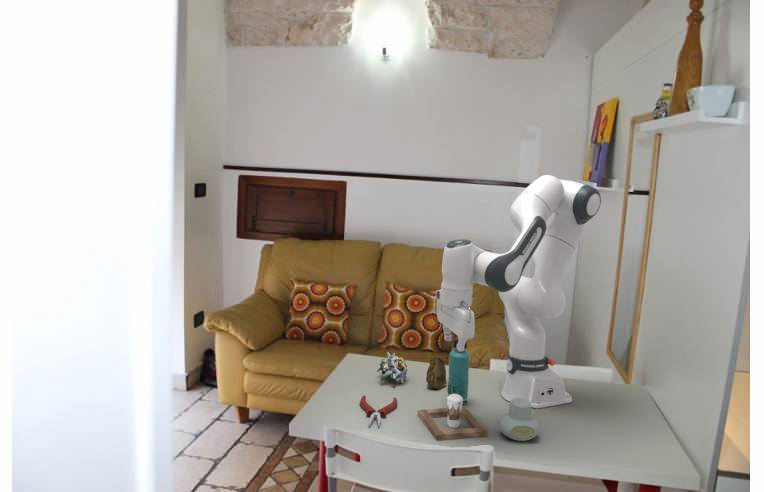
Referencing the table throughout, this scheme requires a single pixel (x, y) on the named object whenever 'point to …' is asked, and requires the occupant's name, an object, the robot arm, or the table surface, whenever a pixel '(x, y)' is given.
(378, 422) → the pliers
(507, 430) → the air freshener
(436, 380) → the decorative stone
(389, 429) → the table surface
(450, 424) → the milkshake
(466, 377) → the beverage bottle
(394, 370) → the passion flower
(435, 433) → the wooden frame
